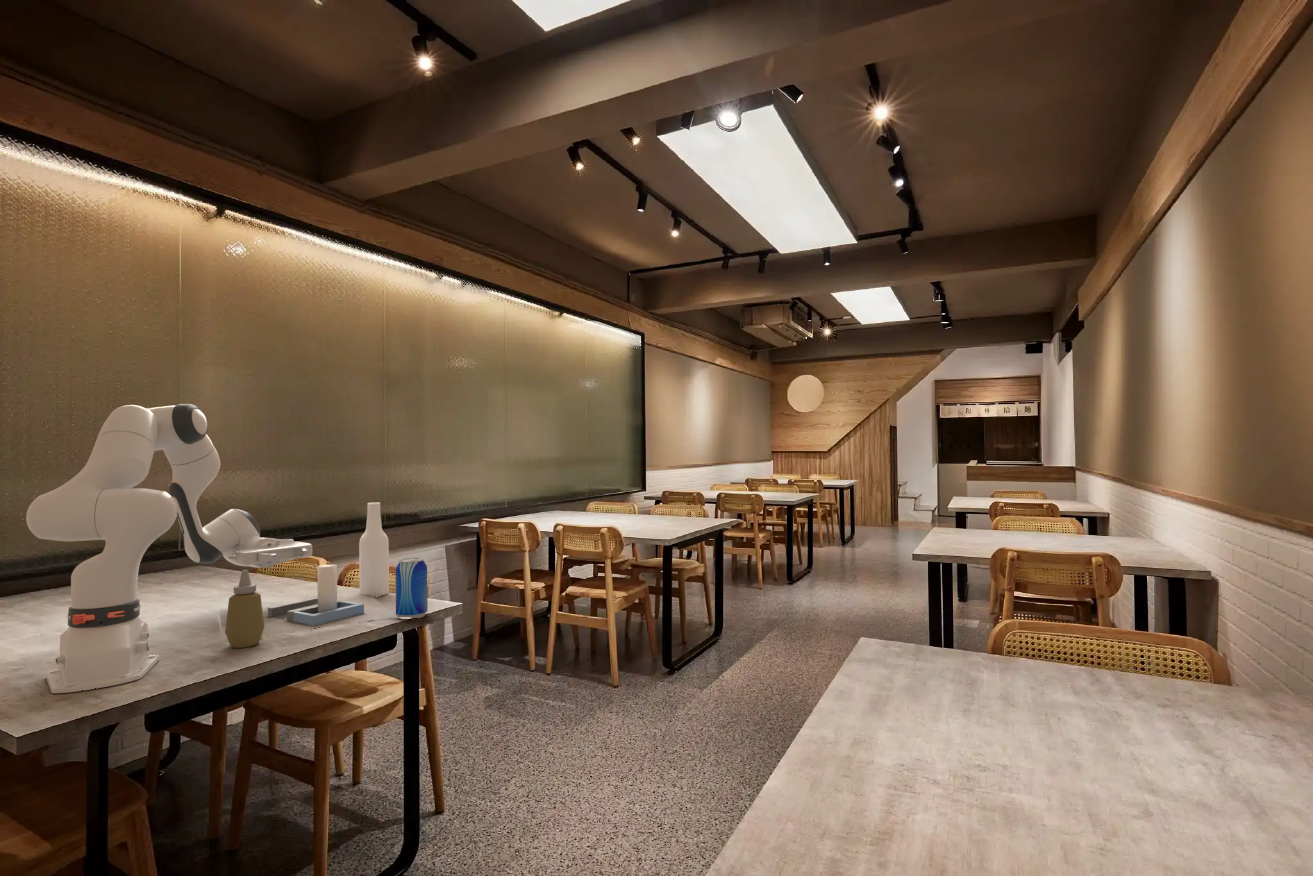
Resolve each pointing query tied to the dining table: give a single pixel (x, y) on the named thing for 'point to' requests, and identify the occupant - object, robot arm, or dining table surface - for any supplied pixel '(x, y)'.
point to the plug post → (327, 587)
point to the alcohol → (374, 555)
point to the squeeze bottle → (244, 614)
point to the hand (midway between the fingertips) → (290, 555)
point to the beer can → (411, 588)
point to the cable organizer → (314, 612)
